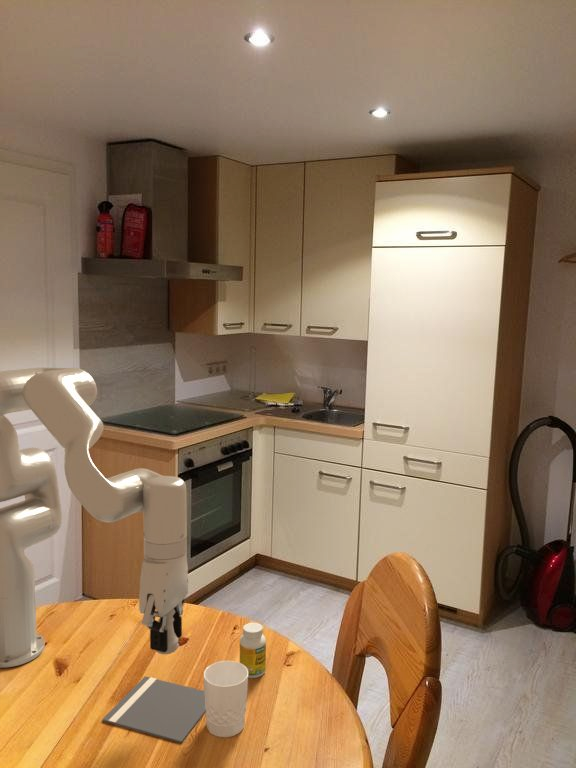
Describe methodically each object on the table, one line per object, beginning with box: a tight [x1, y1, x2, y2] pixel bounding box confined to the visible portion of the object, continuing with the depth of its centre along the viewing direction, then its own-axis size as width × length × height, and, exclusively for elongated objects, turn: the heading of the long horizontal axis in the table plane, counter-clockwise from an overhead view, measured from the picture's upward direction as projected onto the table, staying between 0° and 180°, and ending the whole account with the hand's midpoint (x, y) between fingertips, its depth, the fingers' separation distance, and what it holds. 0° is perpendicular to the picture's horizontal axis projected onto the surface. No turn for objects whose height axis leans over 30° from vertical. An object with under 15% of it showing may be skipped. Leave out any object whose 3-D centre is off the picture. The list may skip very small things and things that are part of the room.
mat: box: [102, 676, 206, 744], centre depth 118 cm, size 16×14×1 cm
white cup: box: [203, 660, 249, 738], centre depth 114 cm, size 8×8×10 cm
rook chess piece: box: [155, 609, 180, 655], centre depth 116 cm, size 4×4×8 cm
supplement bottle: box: [239, 622, 267, 679], centre depth 130 cm, size 5×5×10 cm
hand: (166, 641), depth 116 cm, fingers closed on rook chess piece, 4 cm apart
